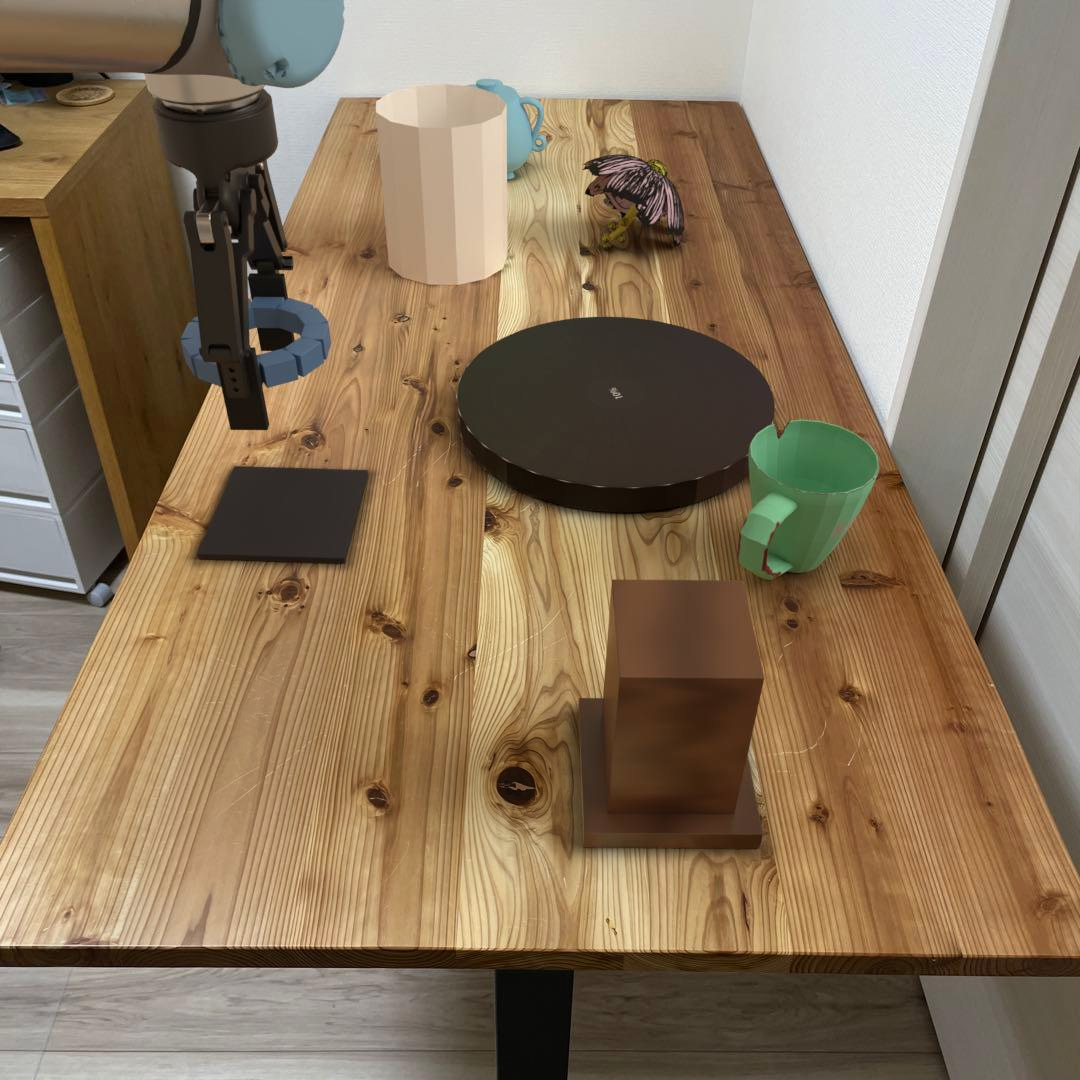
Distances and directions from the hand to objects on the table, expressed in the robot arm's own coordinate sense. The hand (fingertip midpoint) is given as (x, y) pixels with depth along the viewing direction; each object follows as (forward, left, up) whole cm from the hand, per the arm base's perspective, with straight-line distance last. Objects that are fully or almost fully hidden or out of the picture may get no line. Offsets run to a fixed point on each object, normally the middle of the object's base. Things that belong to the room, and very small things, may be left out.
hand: (265, 386), depth 83 cm
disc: (+32, +2, -13) cm, 35 cm away
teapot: (+46, +66, -13) cm, 82 cm away
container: (+30, +41, -13) cm, 52 cm away
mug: (+34, -23, -13) cm, 44 cm away
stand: (+15, -37, -13) cm, 42 cm away
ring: (0, 0, +3) cm, 3 cm away
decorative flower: (+53, +36, -13) cm, 66 cm away
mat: (0, 0, -13) cm, 13 cm away
